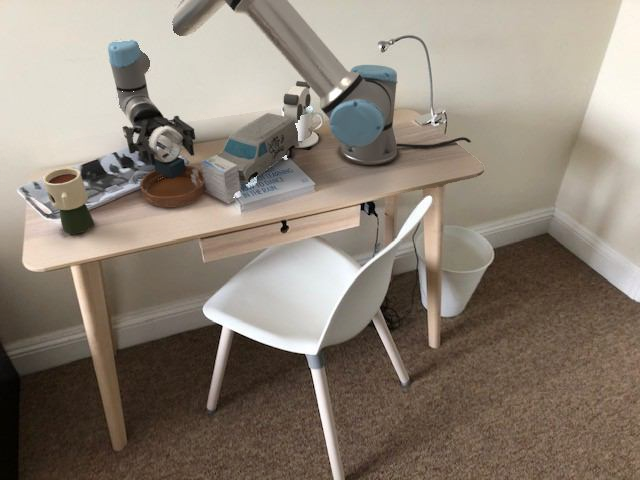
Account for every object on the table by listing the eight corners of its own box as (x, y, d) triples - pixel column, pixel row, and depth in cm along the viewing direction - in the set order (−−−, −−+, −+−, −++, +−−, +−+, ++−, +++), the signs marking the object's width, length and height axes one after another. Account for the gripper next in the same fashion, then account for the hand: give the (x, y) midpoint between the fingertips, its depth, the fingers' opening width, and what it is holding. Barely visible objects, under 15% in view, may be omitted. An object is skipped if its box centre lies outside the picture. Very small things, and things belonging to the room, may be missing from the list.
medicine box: (242, 197, 123) (238, 164, 118) (227, 205, 121) (223, 172, 115) (220, 185, 127) (215, 154, 122) (205, 193, 125) (200, 161, 120)
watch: (192, 167, 124) (184, 124, 117) (166, 182, 118) (158, 138, 112) (174, 161, 126) (167, 118, 119) (149, 175, 121) (139, 131, 114)
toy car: (211, 181, 129) (206, 144, 123) (268, 142, 146) (266, 108, 140) (246, 192, 125) (243, 155, 119) (300, 151, 142) (300, 116, 136)
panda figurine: (310, 151, 142) (309, 98, 133) (271, 145, 145) (268, 93, 135) (323, 133, 151) (323, 82, 142) (286, 128, 154) (284, 77, 145)
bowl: (213, 177, 131) (212, 166, 129) (197, 210, 119) (195, 199, 117) (155, 174, 132) (153, 163, 130) (133, 207, 120) (130, 195, 118)
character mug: (62, 217, 116) (43, 166, 108) (96, 211, 118) (80, 160, 110) (61, 245, 108) (41, 192, 100) (97, 238, 110) (80, 186, 102)
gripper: (187, 122, 137) (219, 158, 121) (105, 139, 129) (128, 181, 113) (183, 94, 132) (215, 128, 117) (98, 111, 124) (120, 150, 108)
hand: (172, 154), depth 115 cm, fingers closed on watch, 8 cm apart
